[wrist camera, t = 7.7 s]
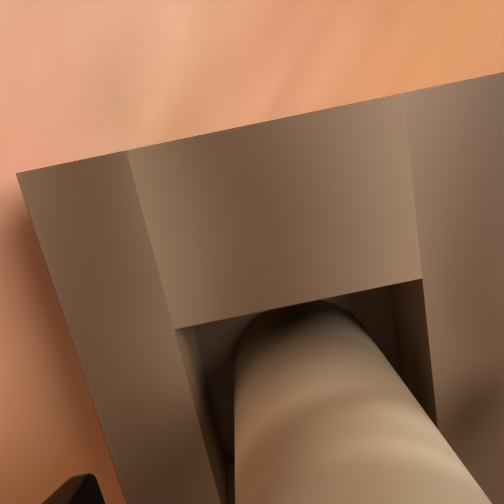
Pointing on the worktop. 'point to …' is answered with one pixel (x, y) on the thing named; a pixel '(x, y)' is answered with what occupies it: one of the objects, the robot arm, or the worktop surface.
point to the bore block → (283, 271)
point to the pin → (333, 419)
